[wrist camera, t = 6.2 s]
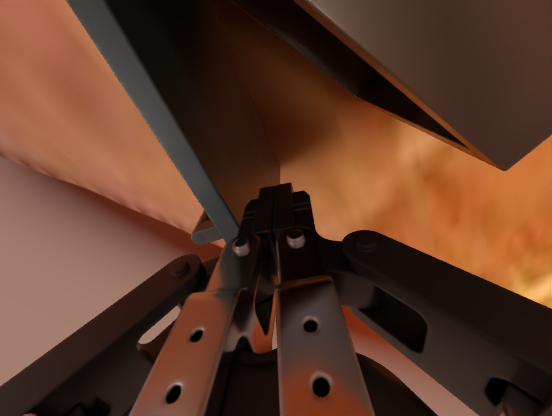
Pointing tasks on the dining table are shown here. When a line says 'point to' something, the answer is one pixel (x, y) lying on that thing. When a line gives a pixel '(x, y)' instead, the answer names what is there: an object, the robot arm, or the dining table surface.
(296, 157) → the dining table surface
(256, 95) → the dining table surface
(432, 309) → the robot arm
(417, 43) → the cupboard
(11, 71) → the dining table surface
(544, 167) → the dining table surface
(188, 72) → the door
